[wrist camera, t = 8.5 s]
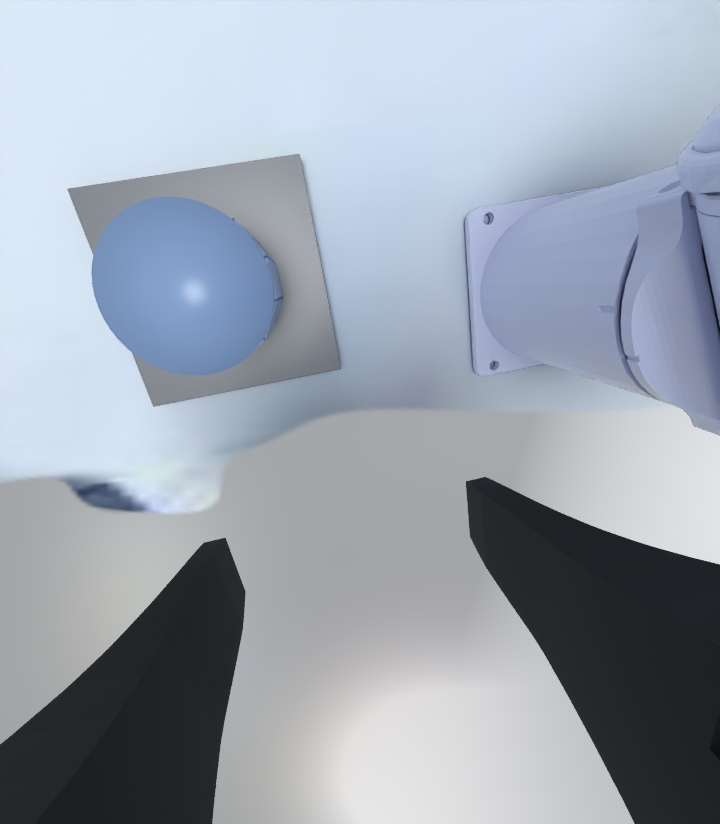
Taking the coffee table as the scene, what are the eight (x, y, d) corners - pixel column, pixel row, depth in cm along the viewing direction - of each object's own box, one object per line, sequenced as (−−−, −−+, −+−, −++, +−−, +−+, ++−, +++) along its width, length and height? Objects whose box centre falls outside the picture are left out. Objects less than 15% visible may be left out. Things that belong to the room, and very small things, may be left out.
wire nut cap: (265, 214, 15) (247, 183, 10) (293, 338, 17) (289, 358, 12) (137, 235, 15) (59, 212, 10) (180, 360, 16) (131, 389, 12)
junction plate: (299, 160, 15) (298, 122, 12) (339, 365, 18) (348, 384, 15) (79, 193, 15) (7, 164, 11) (159, 401, 18) (123, 430, 14)
